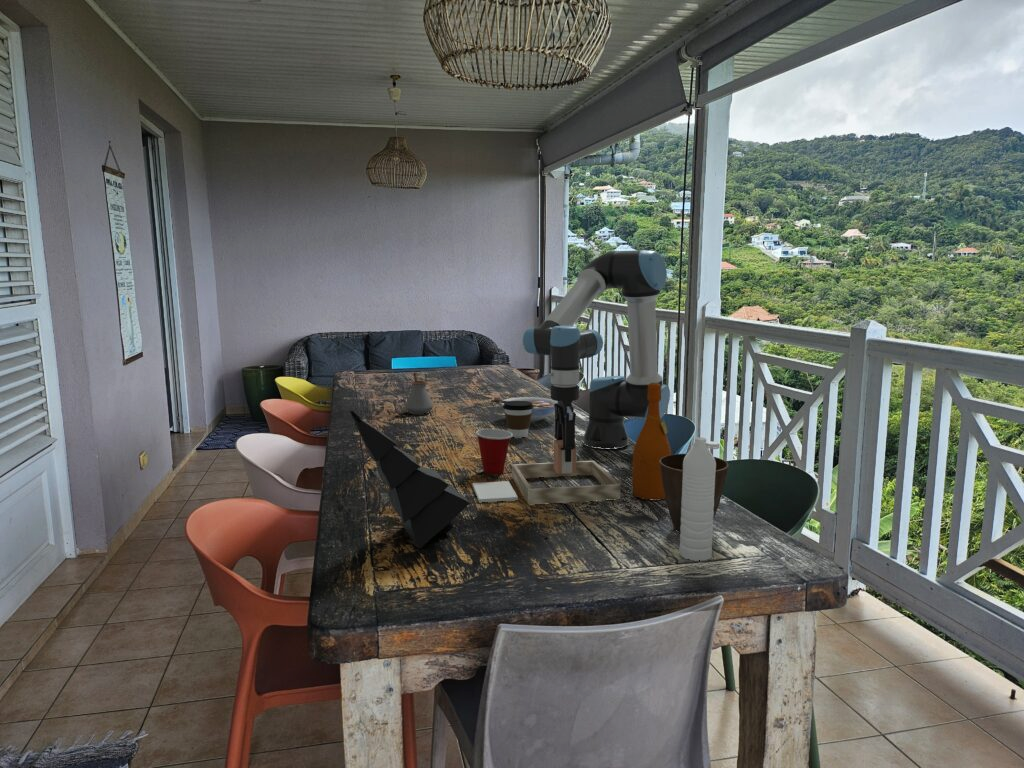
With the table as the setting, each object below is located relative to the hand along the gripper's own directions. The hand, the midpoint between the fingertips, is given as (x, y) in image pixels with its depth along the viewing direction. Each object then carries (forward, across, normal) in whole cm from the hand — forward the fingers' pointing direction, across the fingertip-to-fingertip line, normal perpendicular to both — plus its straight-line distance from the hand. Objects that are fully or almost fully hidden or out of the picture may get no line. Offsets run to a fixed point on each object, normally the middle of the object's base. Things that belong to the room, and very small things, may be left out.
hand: (564, 469), depth 191 cm
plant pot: (+5, +35, +21) cm, 41 cm away
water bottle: (+5, +50, +16) cm, 53 cm away
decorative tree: (+5, +29, -42) cm, 52 cm away
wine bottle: (+6, +10, +21) cm, 24 cm away
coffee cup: (+6, -62, -1) cm, 62 cm away
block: (0, 0, 0) cm, 0 cm away
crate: (+5, 0, 0) cm, 5 cm away
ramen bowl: (+7, -87, +8) cm, 87 cm away
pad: (+5, +1, -19) cm, 20 cm away
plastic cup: (+5, -19, -16) cm, 25 cm away
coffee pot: (+6, -115, -34) cm, 120 cm away
